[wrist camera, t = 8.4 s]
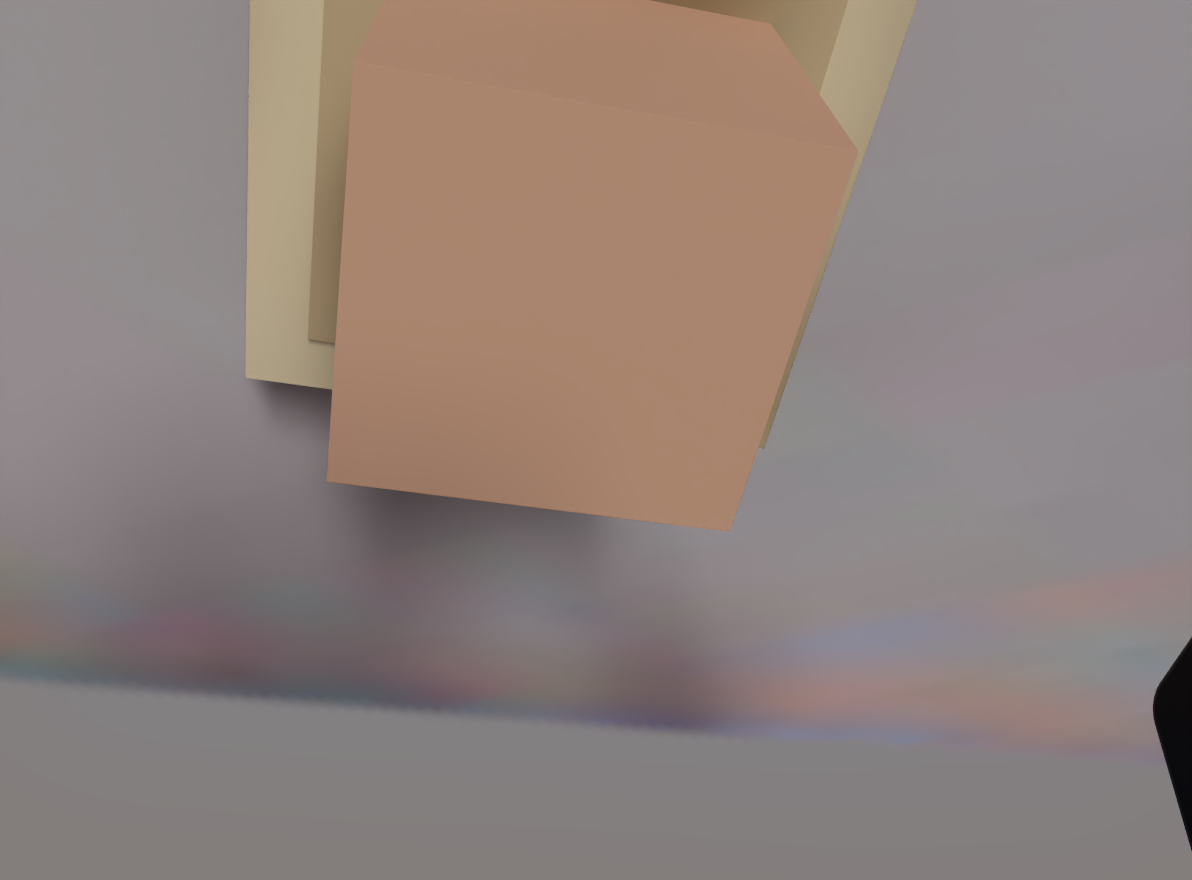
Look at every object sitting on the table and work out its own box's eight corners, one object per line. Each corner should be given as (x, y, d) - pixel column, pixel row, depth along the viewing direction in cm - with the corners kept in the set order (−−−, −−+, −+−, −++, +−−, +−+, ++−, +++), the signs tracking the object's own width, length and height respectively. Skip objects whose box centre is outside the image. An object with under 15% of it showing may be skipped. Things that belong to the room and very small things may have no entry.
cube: (771, 24, 15) (858, 150, 11) (685, 336, 18) (730, 532, 14) (407, -47, 14) (353, 61, 10) (377, 290, 17) (326, 481, 13)
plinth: (909, -123, 16) (955, -100, 14) (745, 388, 21) (765, 453, 19) (284, -260, 15) (249, -253, 13) (269, 319, 20) (243, 382, 18)
